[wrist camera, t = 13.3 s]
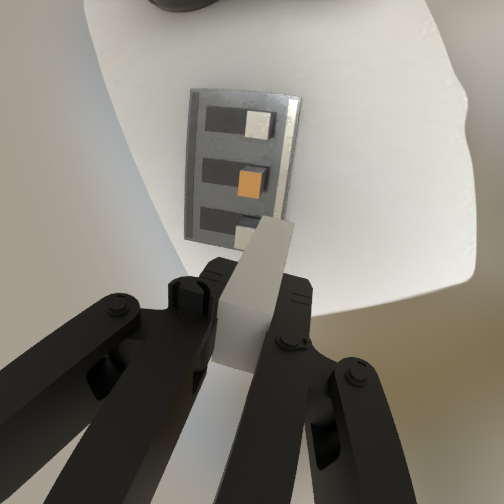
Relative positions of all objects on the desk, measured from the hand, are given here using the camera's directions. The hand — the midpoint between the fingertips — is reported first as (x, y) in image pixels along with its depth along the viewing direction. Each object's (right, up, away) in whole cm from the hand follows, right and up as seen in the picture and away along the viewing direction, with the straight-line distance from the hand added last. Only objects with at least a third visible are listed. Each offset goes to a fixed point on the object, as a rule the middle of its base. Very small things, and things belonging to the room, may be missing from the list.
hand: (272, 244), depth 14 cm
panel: (-3, +11, +24) cm, 26 cm away
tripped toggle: (0, +9, +22) cm, 23 cm away
